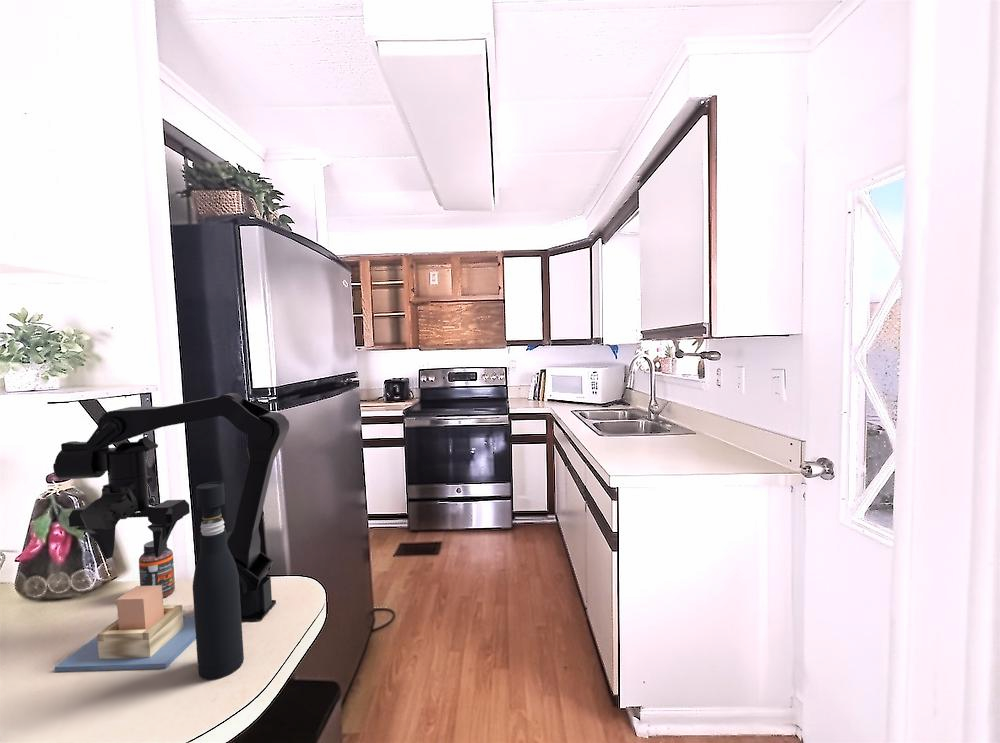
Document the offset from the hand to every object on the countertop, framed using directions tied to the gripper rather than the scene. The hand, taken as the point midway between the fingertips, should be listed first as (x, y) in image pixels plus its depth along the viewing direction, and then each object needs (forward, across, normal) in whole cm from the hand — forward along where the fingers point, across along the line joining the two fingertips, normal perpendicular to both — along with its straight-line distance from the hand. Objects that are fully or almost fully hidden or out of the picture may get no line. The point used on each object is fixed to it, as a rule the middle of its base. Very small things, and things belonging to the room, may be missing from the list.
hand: (133, 557), depth 90 cm
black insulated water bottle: (+13, +23, -13) cm, 30 cm away
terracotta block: (+9, +6, -7) cm, 13 cm away
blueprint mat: (+13, +5, -6) cm, 15 cm away
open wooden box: (+13, +6, -7) cm, 16 cm away
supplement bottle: (+13, -4, +11) cm, 18 cm away
